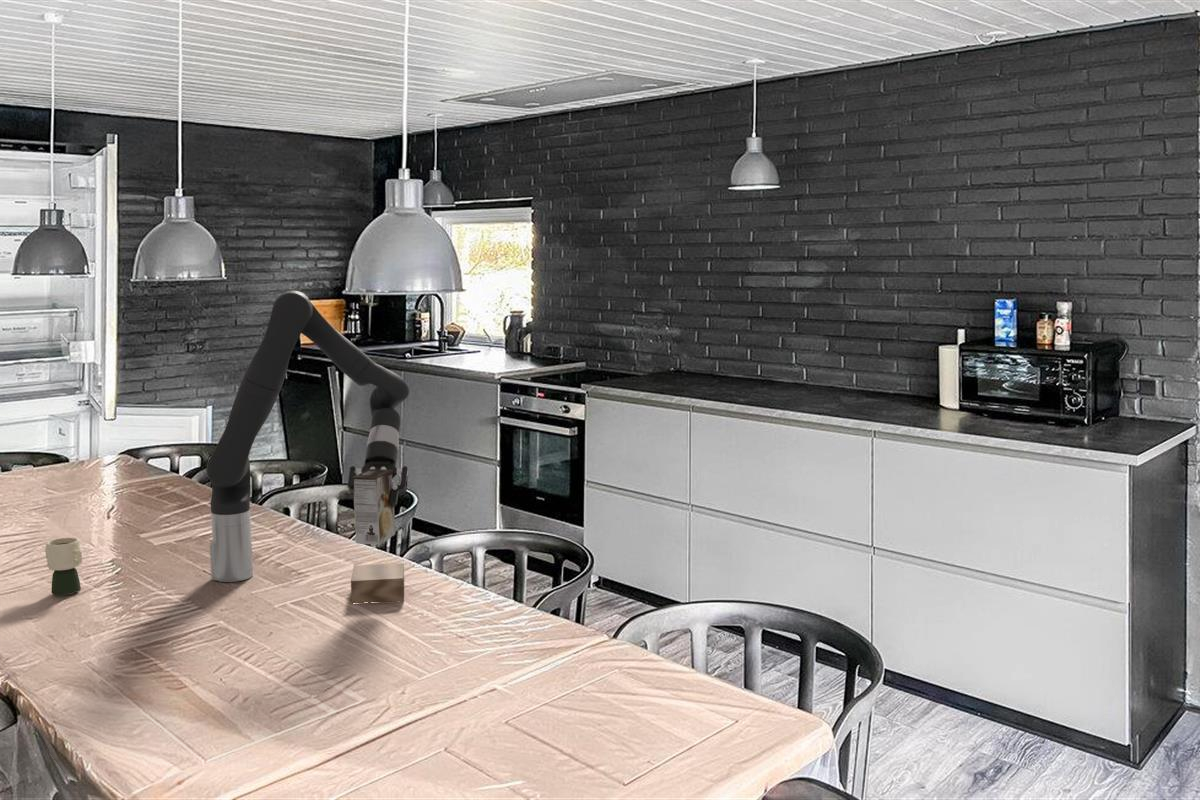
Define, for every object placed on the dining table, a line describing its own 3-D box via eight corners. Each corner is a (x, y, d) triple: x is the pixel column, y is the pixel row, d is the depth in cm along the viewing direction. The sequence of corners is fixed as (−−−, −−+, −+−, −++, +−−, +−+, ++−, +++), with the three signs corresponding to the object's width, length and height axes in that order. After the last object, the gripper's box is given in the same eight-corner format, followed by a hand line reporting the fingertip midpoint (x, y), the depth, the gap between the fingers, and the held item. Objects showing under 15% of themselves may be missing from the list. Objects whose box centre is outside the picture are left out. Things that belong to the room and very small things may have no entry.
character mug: (95, 591, 251) (92, 539, 249) (71, 600, 245) (67, 547, 243) (61, 586, 255) (57, 534, 253) (36, 595, 248) (32, 542, 247)
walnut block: (351, 605, 243) (350, 581, 242) (354, 589, 254) (353, 565, 253) (404, 602, 245) (403, 578, 244) (404, 586, 256) (403, 563, 256)
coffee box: (371, 533, 252) (368, 468, 249) (396, 534, 250) (393, 469, 248) (354, 543, 243) (352, 476, 240) (380, 545, 242) (377, 477, 239)
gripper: (350, 439, 251) (341, 498, 242) (409, 439, 252) (403, 497, 242) (355, 456, 258) (347, 514, 248) (413, 456, 258) (407, 514, 248)
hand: (374, 506), depth 245 cm, fingers closed on coffee box, 7 cm apart
